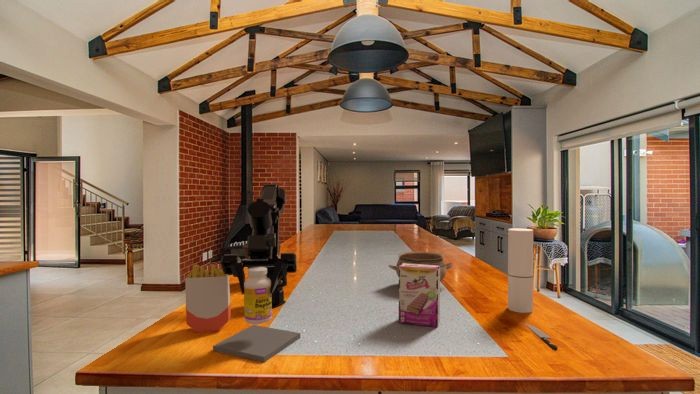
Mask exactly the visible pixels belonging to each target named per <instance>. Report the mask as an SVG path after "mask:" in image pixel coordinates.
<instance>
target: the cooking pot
mask: <svg viewBox="0 0 700 394" xmlns="http://www.w3.org/2000/svg"><path fill="white" fill-rule="evenodd" d="M397 257H398V259H397V262H396V265H392V264H389V265H388V267H389V269H392V270H394V271H395V272H396V274H397V275H396V276H397V277H398V278H399V266H400V265H401V264H402V263H408V264H422V265H436V266H440V283H441V282H442V281H443V280H444V278H445V277H446V274H447V270H448V269H450V268H452V267H453V263H452V262H448V263H445V261H444V259H443V258H445V255H444V254H442V253H438V252H433V251H418V250H417V251H416V250H415V251H405V252H400V253H398V254H397Z"/></svg>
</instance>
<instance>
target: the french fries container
mask: <svg viewBox="0 0 700 394" xmlns="http://www.w3.org/2000/svg"><path fill="white" fill-rule="evenodd" d="M210 267H211V268H210V274H209V269H205V264H201V266H200V265H199V264H193V265H192V272H191V271H190V272H189V273H188V274H187V276H186V277H185V285H184V286H185V318H186V319H185V323H186V325H187V326H188V327H190V328H191V329H192V330H193V331H195V332H196V333H206V332H207V333H208V332H210V333H211V332H220V330H221V329H222V328H223V327H224V326H225V325H227V323H228V322H229V321H230V318H231V316H232V315H231V293H230V292H231V291H230V288H231V287H230V275H226V274H224V272H223V269H222V268H221V267H217V268H216V264H211V265H210Z"/></svg>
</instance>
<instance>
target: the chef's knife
mask: <svg viewBox="0 0 700 394" xmlns="http://www.w3.org/2000/svg"><path fill="white" fill-rule="evenodd" d="M524 325H525V326H526V327H527V328H528V329H529V330H530V331H532V332H533V333H534V334H535V335H536V336H537V337H538V338H539V339H541V340H542V341H543V342H544V343H546V344H547V346H549V348H551V350H553V351H557V350H558V346H557V345H556V344H553V343H552V342H551V341H549V339H550V340H551V339H552V337H551V336H549V335H548V334H546V333H545V332H544V331H542V330H541V329H539V328H538V327H536V326H534V325H532V324H528V323H527V322H525V323H524Z"/></svg>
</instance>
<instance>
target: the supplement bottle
mask: <svg viewBox="0 0 700 394" xmlns="http://www.w3.org/2000/svg"><path fill="white" fill-rule="evenodd" d="M247 275H248V278H246V279H245V282H244V294H243V309H244V311H243V312H244V321H245V322H246V323H247V324H250V325H261V324H265V323H268V322H269V321H271V319H272V317H273V312H272V310H273V309H272V308H273V307H272V293H271V280H270V279H269V278H267V277H266V275H267V268H266V267H252V268H249V269H248V268H247Z"/></svg>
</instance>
